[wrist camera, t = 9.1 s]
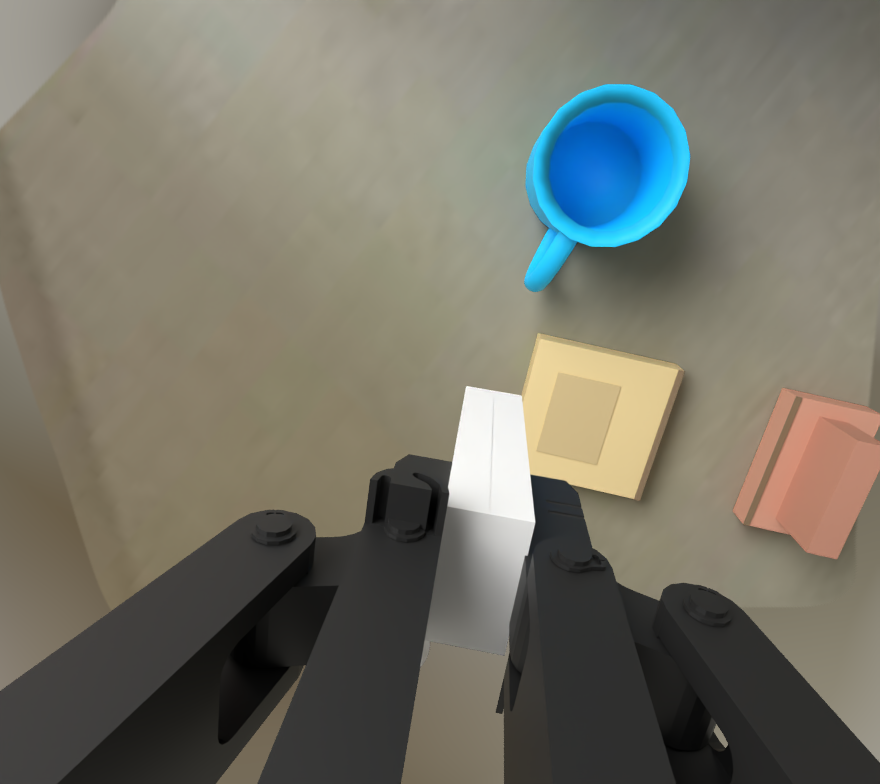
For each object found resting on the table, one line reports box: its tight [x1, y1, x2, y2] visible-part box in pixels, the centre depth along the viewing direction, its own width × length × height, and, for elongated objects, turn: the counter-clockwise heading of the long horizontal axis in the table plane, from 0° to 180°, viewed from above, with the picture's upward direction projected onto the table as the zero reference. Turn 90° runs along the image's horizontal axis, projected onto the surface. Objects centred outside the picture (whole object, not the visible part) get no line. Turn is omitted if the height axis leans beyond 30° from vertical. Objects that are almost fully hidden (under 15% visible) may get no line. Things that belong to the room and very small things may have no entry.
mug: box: [524, 84, 690, 292], centre depth 36 cm, size 12×8×8 cm
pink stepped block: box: [733, 388, 880, 559], centre depth 41 cm, size 10×6×6 cm, turn 168°
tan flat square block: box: [522, 333, 685, 501], centre depth 43 cm, size 10×10×2 cm
